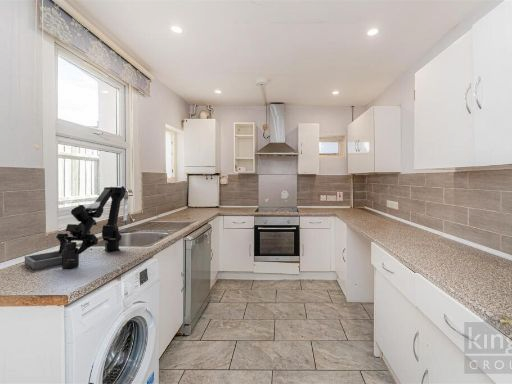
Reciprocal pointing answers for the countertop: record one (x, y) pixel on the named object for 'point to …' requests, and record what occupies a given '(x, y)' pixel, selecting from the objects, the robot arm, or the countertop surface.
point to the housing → (43, 260)
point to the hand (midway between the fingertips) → (68, 253)
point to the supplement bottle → (70, 256)
